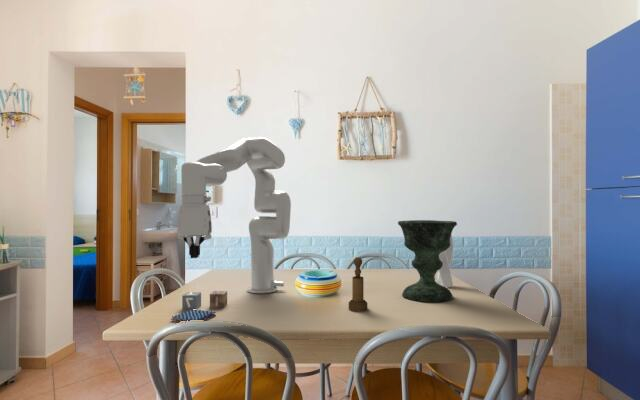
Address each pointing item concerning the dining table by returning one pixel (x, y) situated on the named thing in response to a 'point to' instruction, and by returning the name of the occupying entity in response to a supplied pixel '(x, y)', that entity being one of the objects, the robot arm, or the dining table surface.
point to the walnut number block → (218, 299)
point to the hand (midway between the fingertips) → (194, 257)
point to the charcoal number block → (191, 300)
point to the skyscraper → (445, 267)
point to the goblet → (427, 257)
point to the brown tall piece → (357, 290)
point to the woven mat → (193, 315)
